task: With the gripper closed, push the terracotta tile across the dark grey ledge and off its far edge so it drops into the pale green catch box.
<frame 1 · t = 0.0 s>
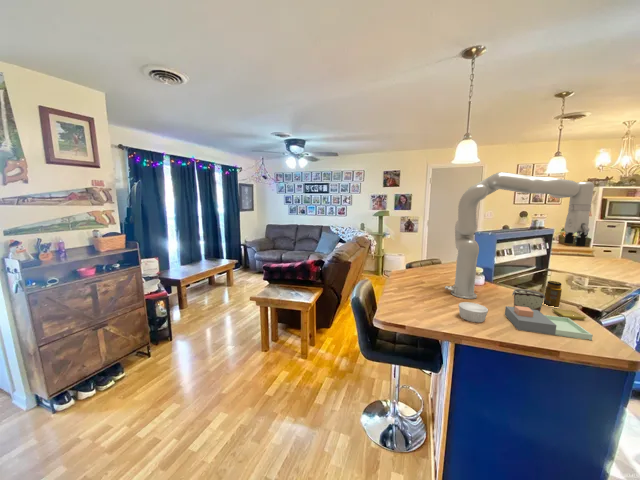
hand: (574, 244, 127), 31 cm above the table, tool pointing down, fingers open, 9 cm apart
condiment: (550, 305, 133), on the table
catch box: (561, 328, 107), on the table
food container: (524, 311, 124), on the table
olive flat square tray: (567, 317, 120), on the table
ramekin: (471, 318, 115), on the table
tile: (523, 314, 111), point 4 cm above the table, touching ledge
ledge: (527, 324, 110), on the table
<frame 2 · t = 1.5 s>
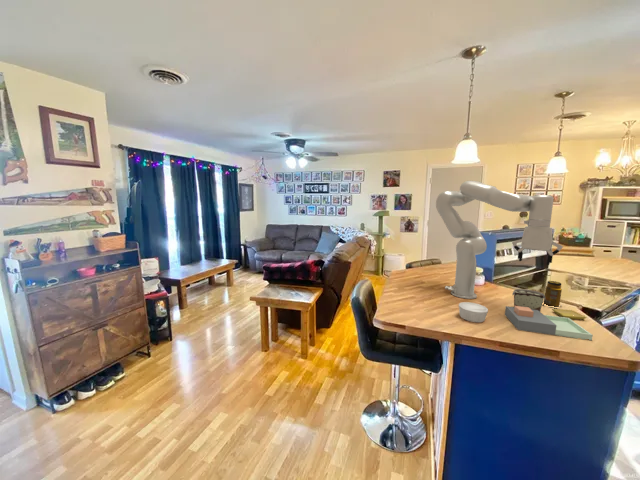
hand: (533, 262, 117), 24 cm above the table, tool pointing down, fingers open, 9 cm apart
nothing on the table moved.
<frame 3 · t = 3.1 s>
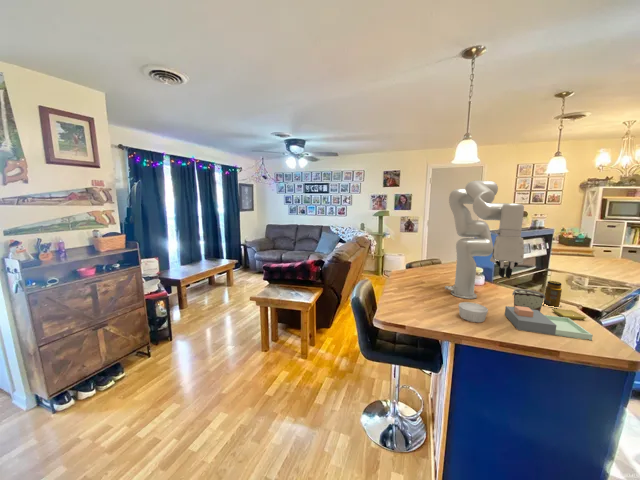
hand: (504, 276, 111), 19 cm above the table, tool pointing down, fingers closed
nothing on the table moved.
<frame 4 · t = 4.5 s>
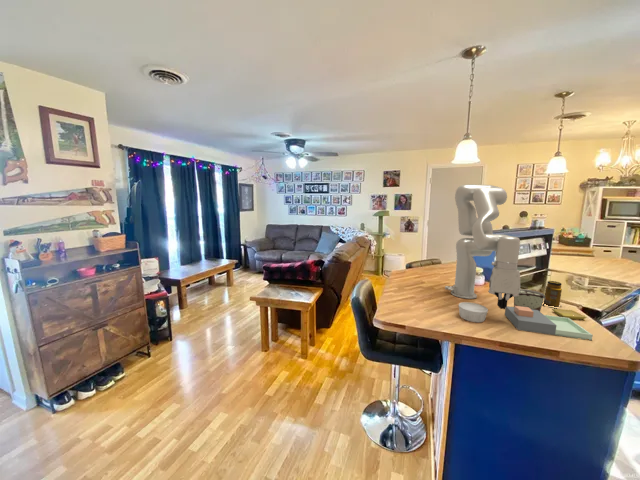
hand: (501, 308, 113), 6 cm above the table, tool pointing down, fingers closed
nothing on the table moved.
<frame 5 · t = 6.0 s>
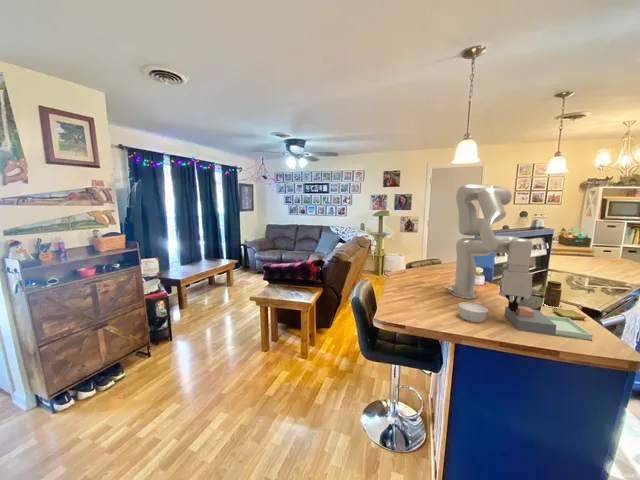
hand: (512, 310, 112), 5 cm above the table, tool pointing down, fingers closed
tile: (524, 314, 110), point 4 cm above the table, touching gripper, ledge
everything else where it was.
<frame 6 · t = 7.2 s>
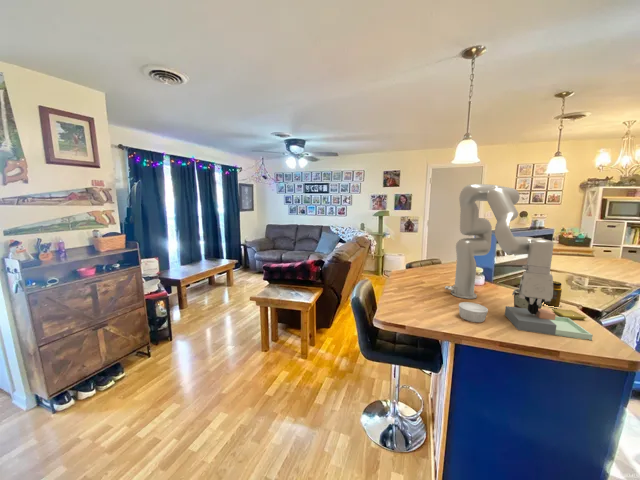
hand: (532, 313, 109), 5 cm above the table, tool pointing down, fingers closed
tile: (544, 316, 108), point 4 cm above the table
everything else where it was.
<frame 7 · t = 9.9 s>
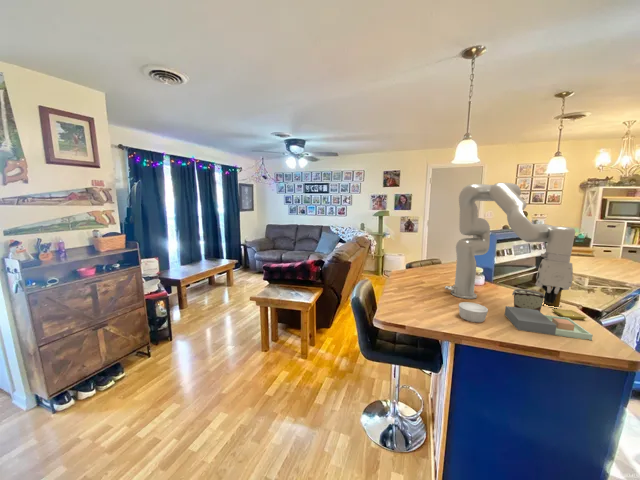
hand: (549, 301, 108), 10 cm above the table, tool pointing down, fingers closed
tile: (563, 321, 107), point 3 cm above the table, tilted 180°, touching catch box
everything else where it was.
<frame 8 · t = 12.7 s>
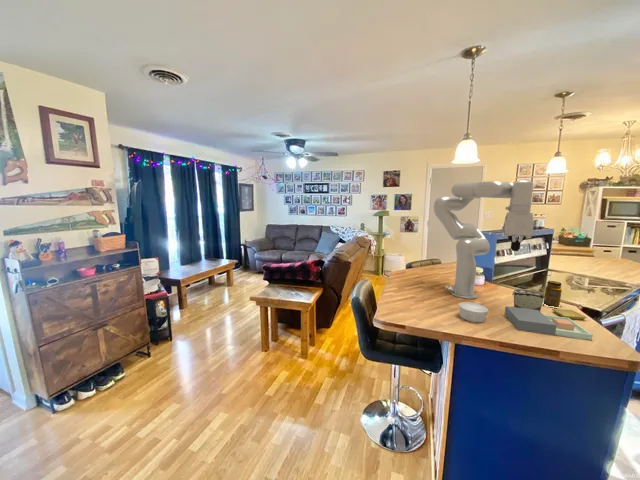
hand: (514, 250, 118), 29 cm above the table, tool pointing down, fingers closed
nothing on the table moved.
at the end: tile inside the target area on the catch box (0.7 cm from its centre), point 3.0 cm above the catch box's base; the gripper is holding nothing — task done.
